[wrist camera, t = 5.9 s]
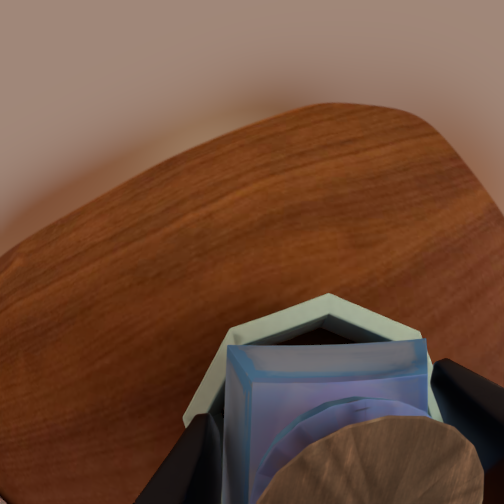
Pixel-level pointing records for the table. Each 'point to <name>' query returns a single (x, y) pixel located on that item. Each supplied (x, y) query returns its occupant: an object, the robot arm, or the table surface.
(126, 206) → the table surface
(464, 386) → the robot arm
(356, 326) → the holder
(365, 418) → the perfume bottle
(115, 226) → the table surface
